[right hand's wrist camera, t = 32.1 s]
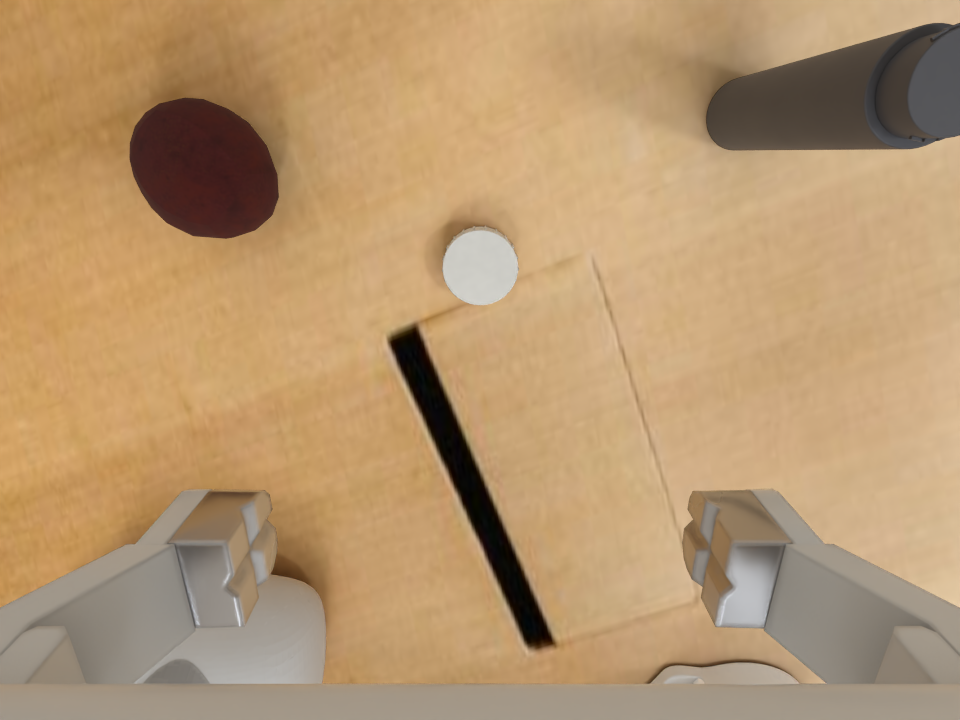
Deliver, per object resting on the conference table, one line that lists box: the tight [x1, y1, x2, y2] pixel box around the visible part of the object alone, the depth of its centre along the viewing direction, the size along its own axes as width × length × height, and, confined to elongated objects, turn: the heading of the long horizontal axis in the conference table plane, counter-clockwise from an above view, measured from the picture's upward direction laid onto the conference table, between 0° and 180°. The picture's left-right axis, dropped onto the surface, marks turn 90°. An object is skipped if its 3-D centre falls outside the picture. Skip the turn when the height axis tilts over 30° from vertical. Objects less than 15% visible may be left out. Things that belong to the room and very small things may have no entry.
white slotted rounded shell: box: [133, 574, 326, 684], centre depth 41 cm, size 22×23×15 cm
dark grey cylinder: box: [707, 23, 960, 150], centre depth 25 cm, size 4×4×16 cm
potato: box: [130, 98, 279, 238], centre depth 31 cm, size 7×8×7 cm
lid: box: [442, 226, 519, 305], centre depth 35 cm, size 5×5×2 cm
